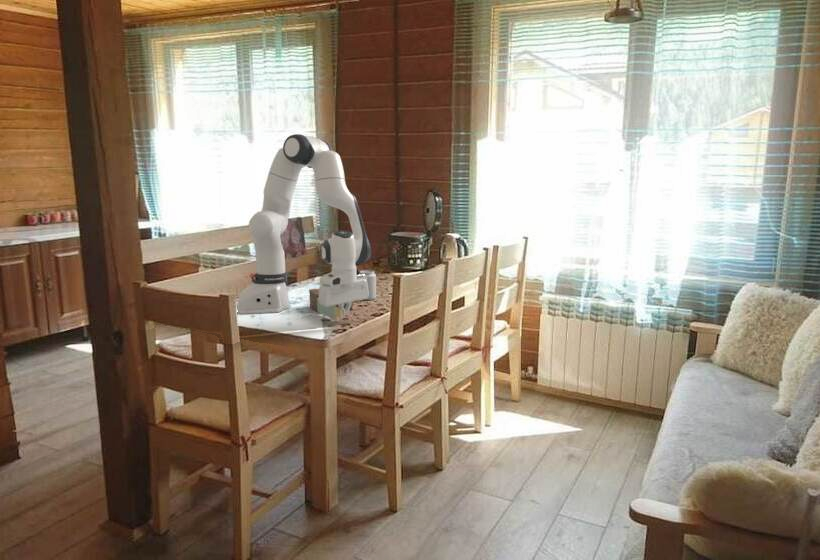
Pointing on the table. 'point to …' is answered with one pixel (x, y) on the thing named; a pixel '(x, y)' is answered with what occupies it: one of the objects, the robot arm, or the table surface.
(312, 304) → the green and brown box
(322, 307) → the green yellow-tipped stick
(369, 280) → the can
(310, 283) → the table surface
